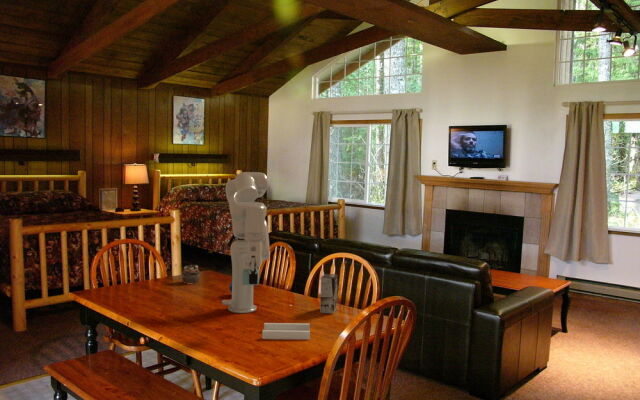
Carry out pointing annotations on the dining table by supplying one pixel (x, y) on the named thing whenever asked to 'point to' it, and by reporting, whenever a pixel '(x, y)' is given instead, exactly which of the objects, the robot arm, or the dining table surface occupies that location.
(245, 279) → the block
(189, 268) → the cupcake
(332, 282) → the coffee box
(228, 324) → the dining table surface
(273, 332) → the trough
